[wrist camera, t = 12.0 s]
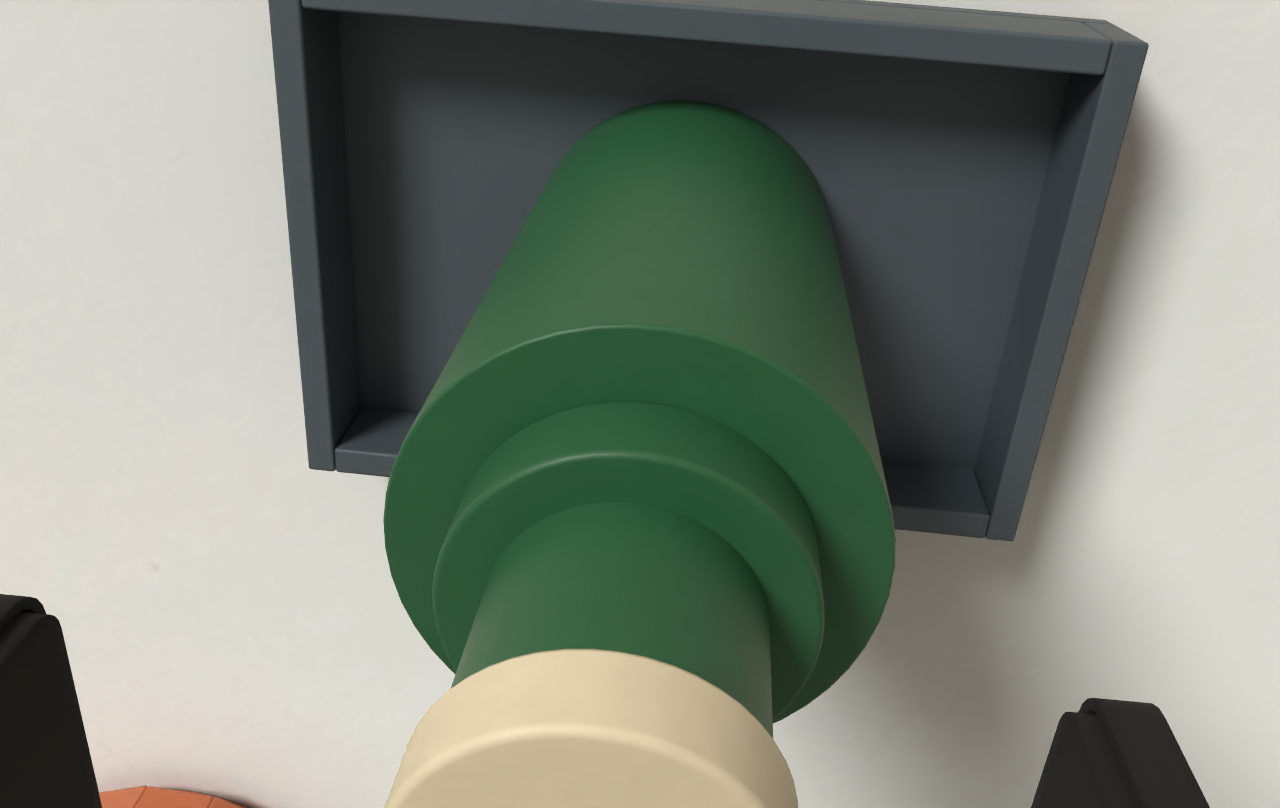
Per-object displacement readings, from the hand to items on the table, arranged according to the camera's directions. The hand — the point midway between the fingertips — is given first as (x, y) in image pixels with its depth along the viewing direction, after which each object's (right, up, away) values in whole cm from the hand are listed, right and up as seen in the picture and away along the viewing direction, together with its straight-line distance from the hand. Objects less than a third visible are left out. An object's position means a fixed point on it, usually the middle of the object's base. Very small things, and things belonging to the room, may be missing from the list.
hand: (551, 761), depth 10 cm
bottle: (+2, +7, +13) cm, 14 cm away
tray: (+2, +7, +13) cm, 15 cm away
